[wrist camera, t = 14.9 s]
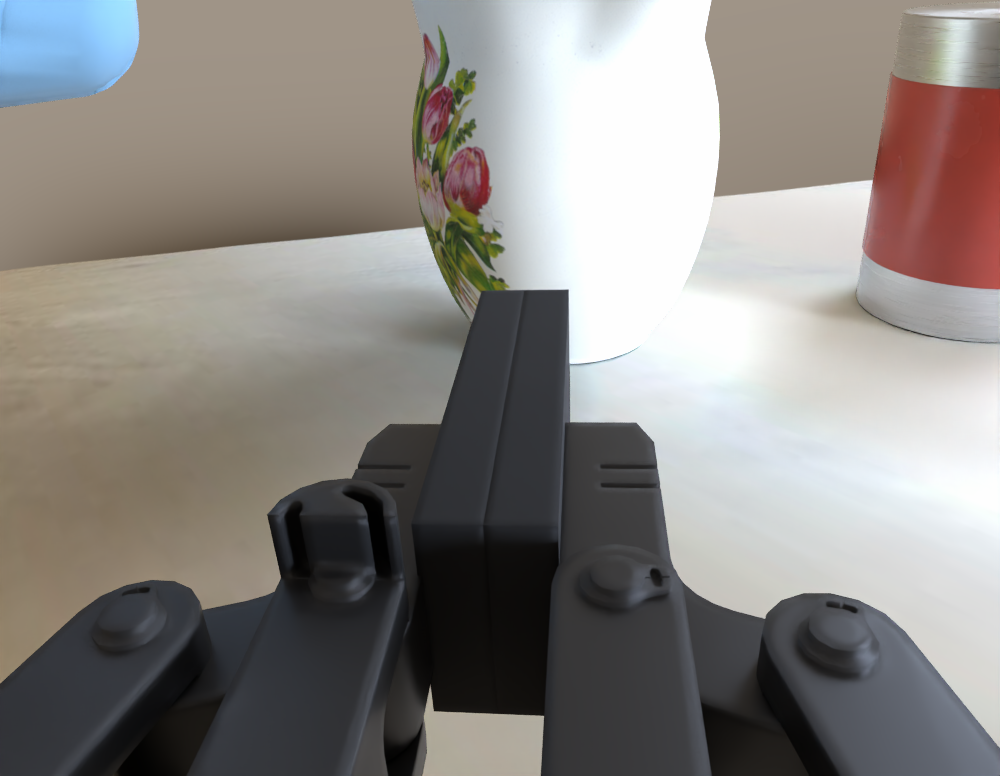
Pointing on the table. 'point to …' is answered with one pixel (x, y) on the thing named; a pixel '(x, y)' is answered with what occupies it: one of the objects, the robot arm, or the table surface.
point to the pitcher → (567, 155)
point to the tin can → (938, 179)
